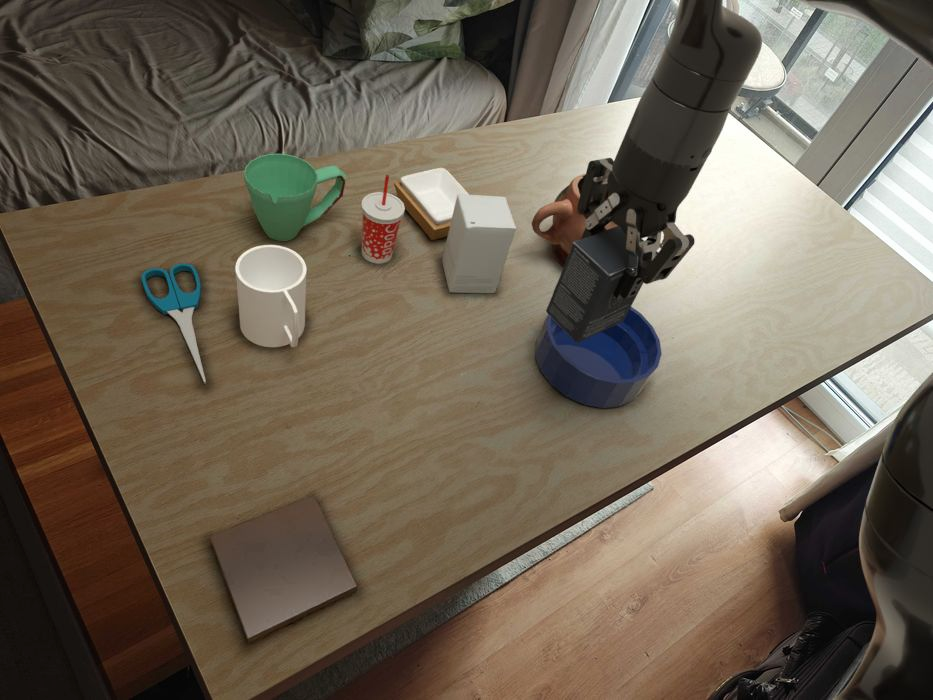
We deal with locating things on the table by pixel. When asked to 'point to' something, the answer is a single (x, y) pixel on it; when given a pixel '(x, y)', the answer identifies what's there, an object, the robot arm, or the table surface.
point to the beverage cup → (380, 224)
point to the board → (282, 567)
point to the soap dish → (430, 199)
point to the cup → (271, 295)
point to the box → (592, 285)
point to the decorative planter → (564, 220)
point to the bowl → (600, 361)
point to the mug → (289, 193)
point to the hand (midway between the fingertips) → (603, 275)
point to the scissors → (172, 307)
